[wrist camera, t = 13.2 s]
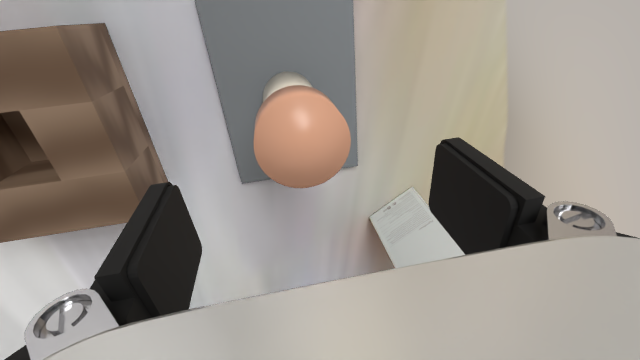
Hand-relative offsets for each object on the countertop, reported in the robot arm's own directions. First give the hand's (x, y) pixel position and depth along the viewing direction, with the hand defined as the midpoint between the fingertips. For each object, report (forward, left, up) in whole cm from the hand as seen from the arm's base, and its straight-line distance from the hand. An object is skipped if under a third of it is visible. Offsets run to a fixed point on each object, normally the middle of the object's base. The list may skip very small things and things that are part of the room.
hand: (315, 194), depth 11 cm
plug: (+1, 0, -18) cm, 18 cm away
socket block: (+1, -20, -18) cm, 27 cm away
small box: (+18, +12, -19) cm, 28 cm away
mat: (+1, 0, -18) cm, 18 cm away
